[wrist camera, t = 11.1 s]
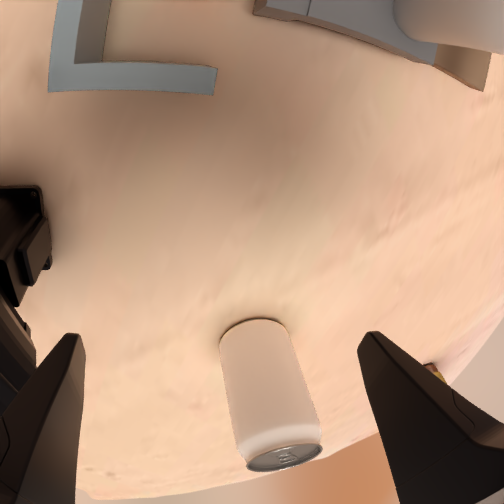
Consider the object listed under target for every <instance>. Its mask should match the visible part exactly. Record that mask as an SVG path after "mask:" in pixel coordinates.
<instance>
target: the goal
mask: <svg viewBox="0 0 504 504" xmlns="http://www.w3.org/2000/svg"><path fill="white" fill-rule="evenodd" d="M110 5H111V0H58V5H57V11H56V17H55V23H54V30H53V37H52V45H51V54H50V64H49V77H48V92H60V91H79V90H146V91H167V92H182V93H194V94H204V95H213V93H214V87H215V81H216V76H217V70H218V69H217V68H214V67H211V66H206V65H196V64H185V63H171V62H151V61H102V56H103V49H104V41H105V34H106V28H107V22H108V16H109V11H110Z"/></svg>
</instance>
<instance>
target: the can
mask: <svg viewBox="0 0 504 504" xmlns="http://www.w3.org/2000/svg"><path fill="white" fill-rule="evenodd" d="M219 351H220V358H221V364H222V370H223V377H224V383H225V388H226V394H227V400H228V405H229V411H230V416H231V422H232V427H233V432H234V437H235V442H236V446H237V450H238V452H239V453H240V455H241V456H242V457H243V458H244V460H245V461H246V462H247V465H246V467H247V469H249V470H251V471H255V472H271V471H278V470H283V469H288V468H291V467H295V466H298V465H300V464H303V463H305V462H307V461H310V460H311V459H313V458H315V457H316V456H318V455H319V454H320V453H321V452H322V449H323V448H322V446H321V445H320V440H321V433H322V429H321V425H320V422H319V419H318V416H317V413H316V410H315V407H314V404H313V401H312V399H311V396H310V393H309V390H308V387H307V384H306V382H305V379H304V376H303V373H302V370H301V368H300V365H299V362H298V359H297V357H296V354H295V351H294V348H293V346H292V343H291V340H290V337H289V335H288V332H287V330H286V329H285V328H284V327H283V326H282V325H281V324H279V323H277V322H275V321H272V320H268V319H251V320H247V321H244V322H241V323H239V324H237V325H235V326H234V327H232V328H231V329H229V330H228V331H227V332H226V334H225V335H224V336H223V337H222V339H221V341H220V344H219Z"/></svg>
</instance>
